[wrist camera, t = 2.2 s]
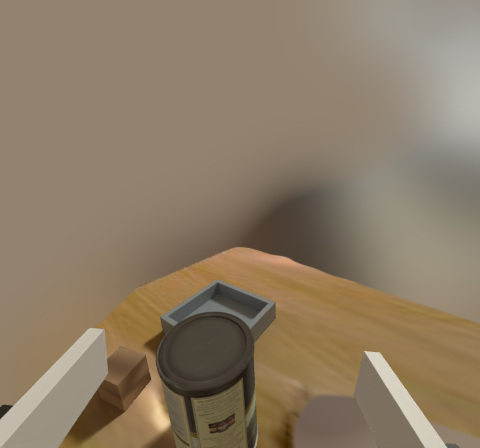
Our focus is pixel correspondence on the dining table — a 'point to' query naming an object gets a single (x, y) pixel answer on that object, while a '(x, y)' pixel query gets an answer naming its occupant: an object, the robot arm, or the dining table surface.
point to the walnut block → (124, 378)
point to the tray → (225, 307)
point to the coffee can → (210, 381)
